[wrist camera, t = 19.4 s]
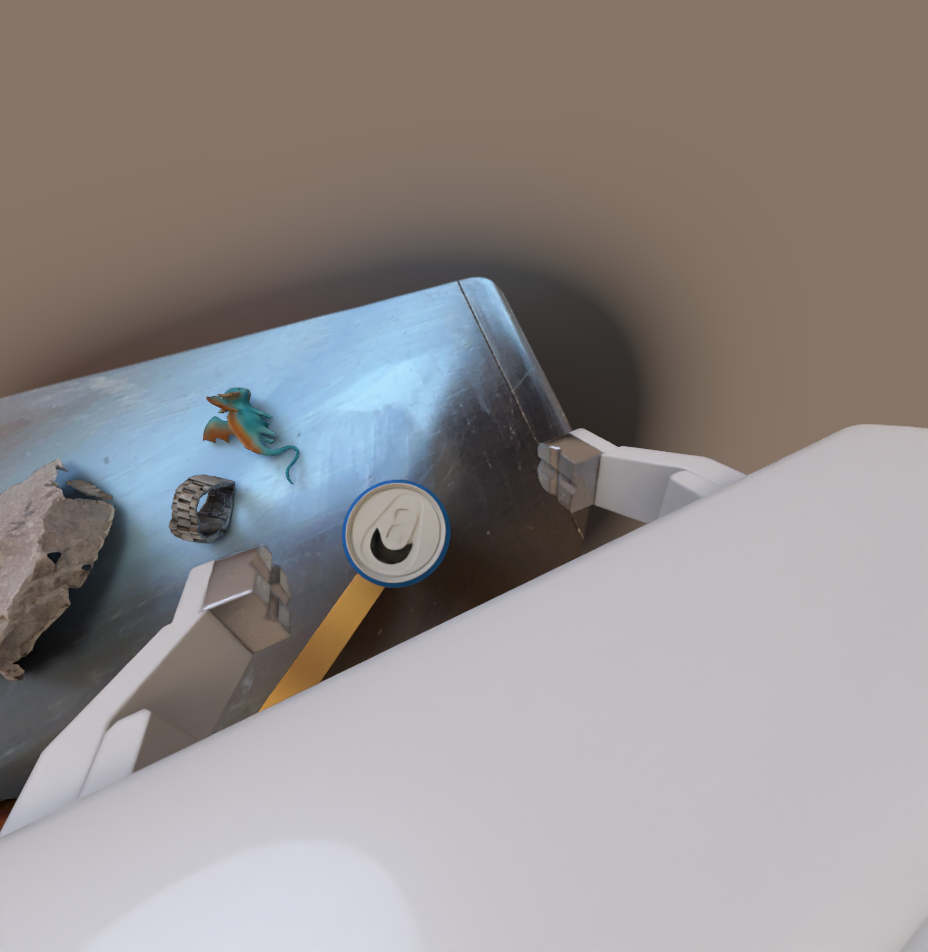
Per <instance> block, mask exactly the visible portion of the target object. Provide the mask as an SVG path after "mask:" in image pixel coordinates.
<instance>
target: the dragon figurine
mask: <svg viewBox="0 0 928 952" xmlns="http://www.w3.org/2000/svg"><path fill="white" fill-rule="evenodd" d="M220 397H222V399H221V398H220ZM250 397H251V393H250V391H249V390H248V389H246V388H238V387H236V388H231V389H229V390H227V391H226V392H225V393H224V394H218V396H212V397H206V399H207V400H208V401H209V402H210V403H211V404H213V405H215V406H217V407H219V408H222V409H220V410H222V411H219V412H218V413H224V412H225V413H226V412H227V411H229V414H228V415H227V419H228V421H223V420H221V419H219V418H218V417H216V416H214V417H213V418H212V419H211V420H210V421H209V422H208V424H207V425H206V427H205V430H204V434H203V441H204V440H208V441H212V442H214V443H216V441H215V439H216V438H220V439H222V440H224V441H226V442H228V443H229V441H228V437H229V435H235V436H236V437H237V439H238V440H239V441H240V442H241V443H242V444H243V445H244V447H245V448H246V449H249V450H251V451H253V452H255V453H257V454H262V455H265V456H275V455H279V454H281V453H282V452H284V451H286V450H287V449H290V448H292V449H294V450H295V451H296V453H297V454H296V457H295V458H294V460H293V461H292V462H291V464H290V465H289V466H288V467H287V469H286V477H287V479H288V481H289V482H290V483H291V484H293V483H292V482H291V480H290V478H289V469H290V467H291V466H292V465H293V464H294V463H295V461H296V460H297V458H298V457H299V450H298V449H297V448H296V447H295V446H291V445H289V446H285V447H283V448H280V449H269V448H266V447H265V446H264V445H263V443H262V442H261V441H265V442H268V443H272V442H274V441H273V439H269V438H267V437H265V436H263V435H261V433H266V434H269V435H271V436H274V435H276V434H277V433H275V432H273V431H271V430H269V429H268V428H266V427H268V426H269V425H270V424H269V423H267V422H264V419H263V418H262V416H265V417H266V418H272V416H270V415H268V414H266V413H265V412H262V411H260V410H258V409H255V408H253V407H252V406H251V404H250V402H249V401H250Z"/></svg>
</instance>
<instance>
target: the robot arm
mask: <svg viewBox="0 0 928 952" xmlns="http://www.w3.org/2000/svg"><path fill="white" fill-rule="evenodd" d="M538 457H539V458H540V459H541V460H542V461H541V462H540V464H539V466H538V477H539V480H540V483H541V485H542V486H543V488H544V489H545V490H546V491H547V492H548V493H549V494H553V495H557V496H558V502H560V503H561V504H562V505H563V506H564V507H565V508H566V509H568V510H569V511H570V512H571V513H573V512H575V511H578V510H580V509H583V508H585V507H588V506H590V505H593V504H595V505H596V506H599V507H602V508H605V509H607V510H610V511H613V512H616V513H619V514H621V515H624V516H627V517H630V518H633V519H636V520H639V521H641V522H644V523H647V524H646V525H644V526H642V527H640V528H638V529H636V530H634V531H632V532H630V533H628V534H626V535H624V536H622V537H620V538H617V539H615V540H613V541H611V542H609V543H607V544H605V545H603V546H601V547H599V548H597V549H595V550H593V551H591V552H589V553H587V554H584V555H582V556H580V557H578V558H576V559H574V560H572V561H570V562H568V563H566V564H564V565H562V566H560V567H558V568H555V569H553V570H551V571H549V572H547V573H545V574H543V575H541V576H539V577H537V578H535V579H533V580H531V581H529V582H527V583H524V584H522V585H520V586H518V587H516V588H514V589H512V590H510V591H508V592H506V593H504V594H502V595H500V596H498V597H496V598H494V599H491V600H489V601H487V602H485V603H483V604H481V605H479V606H477V607H475V608H473V609H471V610H469V611H467V612H465V613H463V614H461V615H458V616H456V617H454V618H452V619H450V620H448V621H446V622H444V623H442V624H440V625H438V626H436V627H434V628H432V629H430V630H428V631H425V632H423V633H421V634H419V635H417V636H415V637H413V638H411V639H409V640H407V641H405V642H403V643H401V644H399V645H397V646H395V647H392V648H390V649H388V650H386V651H384V652H382V653H380V654H378V655H376V656H374V657H372V658H370V659H368V660H366V661H364V662H362V663H359V664H357V665H355V666H353V667H351V668H349V669H347V670H345V671H343V672H341V673H339V674H337V675H335V676H333V677H331V678H328V679H326V680H324V681H322V682H320V683H318V684H316V685H314V686H312V687H310V688H308V689H306V690H304V691H302V692H300V693H298V694H295V695H293V696H291V697H289V698H287V699H285V700H283V701H281V702H279V703H277V704H275V705H273V706H271V707H269V708H267V709H265V710H262V711H260V712H258V713H256V714H254V715H252V716H250V717H248V718H246V719H244V720H242V721H240V722H238V723H236V724H234V725H232V726H229V727H227V728H225V729H223V730H221V731H219V732H217V733H215V734H213V735H211V736H210V734H211V732H212V730H213V728H214V726H215V725H216V723H217V721H218V719H219V717H220V716H221V714H222V712H223V710H224V708H225V707H226V705H227V703H228V701H229V699H230V697H231V696H232V694H233V692H234V690H235V688H236V687H237V685H238V683H239V681H240V679H241V678H242V676H243V674H244V672H245V670H246V669H247V667H248V665H249V663H250V661H251V659H252V658H253V654H254V653H256V652H258V651H260V650H262V649H264V648H266V647H269V646H271V645H273V644H275V643H277V642H279V641H281V640H284V639H286V638H288V637H290V618H291V614H290V612H289V611H288V610H287V608H286V606H287V604H288V603H289V601H290V600H291V591H290V586H289V582H288V579H287V577H286V575H285V572H284V571H283V569H282V568H281V566H279V565H276V564H273V563H272V553H271V552H270V551H269V549H268V548H267V547H266V546H265V545H263V544H260V545H257V546H254V547H251V548H248V549H245V550H242V551H239V552H236V553H233V554H230V555H227V556H224V557H222V558H219V559H217V560H213V561H210V562H207V563H205V564H202V565H199V566H196V567H195V568H193V569H192V570H191V571H190V573H189V576H188V579H187V582H186V585H185V587H184V590H183V593H182V596H181V599H180V602H179V605H178V607H177V610H176V613H175V616H174V619H173V622H172V623H171V624H169V625H167V626H164V627H163V628H162V629H161V630H160V631H159V632H158V633H157V634H156V635H155V636H154V637H153V638H152V639H151V640H150V641H149V642H148V644H147V645H146V646H145V647H144V648H143V649H142V650H141V651H140V652H139V653H138V654H137V655H136V656H135V657H134V658H133V659H132V660H131V661H130V662H129V663H128V664H127V665H126V666H125V667H124V668H123V669H122V670H121V671H120V672H119V673H118V674H117V675H116V676H115V677H114V679H113V680H112V681H111V682H110V683H109V684H108V685H107V686H106V687H105V688H104V689H103V690H102V691H101V692H100V693H99V694H98V695H97V696H96V697H95V698H94V699H93V700H92V701H91V702H90V703H89V704H88V705H87V706H86V707H85V708H84V709H83V710H82V711H81V712H80V714H79V715H78V716H77V717H76V718H75V719H74V720H73V721H72V722H71V723H70V724H69V725H68V726H67V727H66V728H65V729H64V730H63V731H62V732H61V733H60V734H59V735H58V736H57V737H56V738H55V739H54V740H53V741H52V742H51V743H50V744H49V745H48V746H47V747H46V748H45V750H44V751H43V752H42V753H41V755H40V757H39V759H38V761H37V763H36V765H35V767H34V769H33V771H32V772H31V774H30V776H29V778H28V780H27V782H26V784H25V786H24V788H23V790H22V792H21V793H20V795H19V797H18V799H17V801H16V803H15V805H14V807H13V809H12V811H11V813H10V814H9V816H8V818H7V820H6V822H5V824H4V826H3V828H2V830H1V832H0V952H928V428H918V427H907V426H892V425H867V424H863V425H862V424H861V425H854V426H850V427H847V428H845V429H842V430H840V431H838V432H836V433H834V434H832V435H830V436H828V437H826V438H824V439H822V440H820V441H817V442H815V443H813V444H811V445H809V446H807V447H805V448H803V449H801V450H799V451H797V452H795V453H793V454H791V455H789V456H787V457H785V458H783V459H780V460H779V461H776V462H774V463H772V464H770V465H768V466H766V467H764V468H762V469H760V470H758V471H756V472H754V473H752V474H750V475H745V474H743V473H740V472H738V471H736V470H734V469H732V468H729V467H727V466H725V465H723V464H721V463H719V462H716V461H714V460H712V459H710V458H707V457H699V456H692V455H684V454H677V453H670V452H663V451H655V450H647V449H639V448H633V447H625V446H622V447H619V448H618V447H616V446H615V445H613V444H611V443H609V442H607V441H605V440H603V439H602V438H600V437H598V436H596V435H594V434H592V433H591V432H589V431H587V430H585V429H577V430H574V431H572V432H569V433H567V434H565V435H562V436H560V437H557V438H554V439H552V440H549V441H546V442H544V443H541V444H539V447H538Z"/></svg>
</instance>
